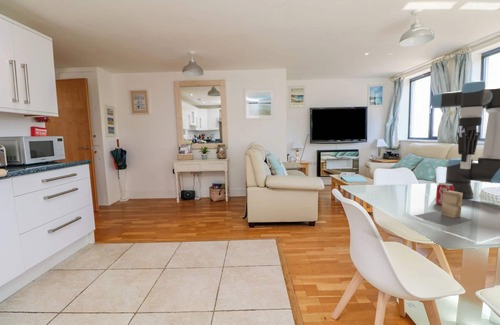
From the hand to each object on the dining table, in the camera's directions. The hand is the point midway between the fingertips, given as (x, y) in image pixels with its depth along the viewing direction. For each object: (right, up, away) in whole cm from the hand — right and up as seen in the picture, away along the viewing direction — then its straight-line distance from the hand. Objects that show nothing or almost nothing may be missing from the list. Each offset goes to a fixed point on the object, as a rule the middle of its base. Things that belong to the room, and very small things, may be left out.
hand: (465, 168), depth 111 cm
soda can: (+4, -21, +17) cm, 27 cm away
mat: (-12, -23, -2) cm, 26 cm away
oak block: (-7, -22, 0) cm, 23 cm away
